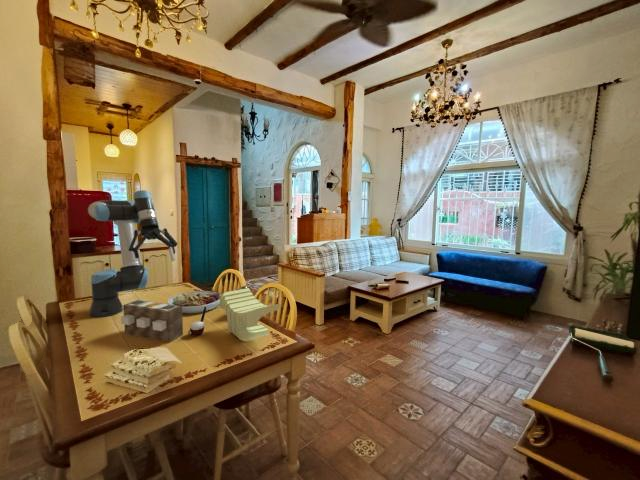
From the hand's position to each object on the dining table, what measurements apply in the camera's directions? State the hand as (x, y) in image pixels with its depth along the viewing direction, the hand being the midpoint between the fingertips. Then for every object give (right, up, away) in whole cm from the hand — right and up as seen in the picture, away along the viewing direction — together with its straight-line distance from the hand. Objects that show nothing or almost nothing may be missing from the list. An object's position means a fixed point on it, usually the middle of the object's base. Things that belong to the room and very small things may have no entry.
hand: (157, 262), depth 137 cm
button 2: (+3, -29, -5) cm, 30 cm away
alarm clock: (+30, -32, +33) cm, 55 cm away
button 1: (-14, -28, 0) cm, 31 cm away
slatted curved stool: (+40, -35, +7) cm, 54 cm away
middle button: (-5, -29, -2) cm, 29 cm away
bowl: (-1, -30, +43) cm, 52 cm away
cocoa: (+16, -35, +5) cm, 39 cm away
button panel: (-4, -34, +4) cm, 35 cm away
